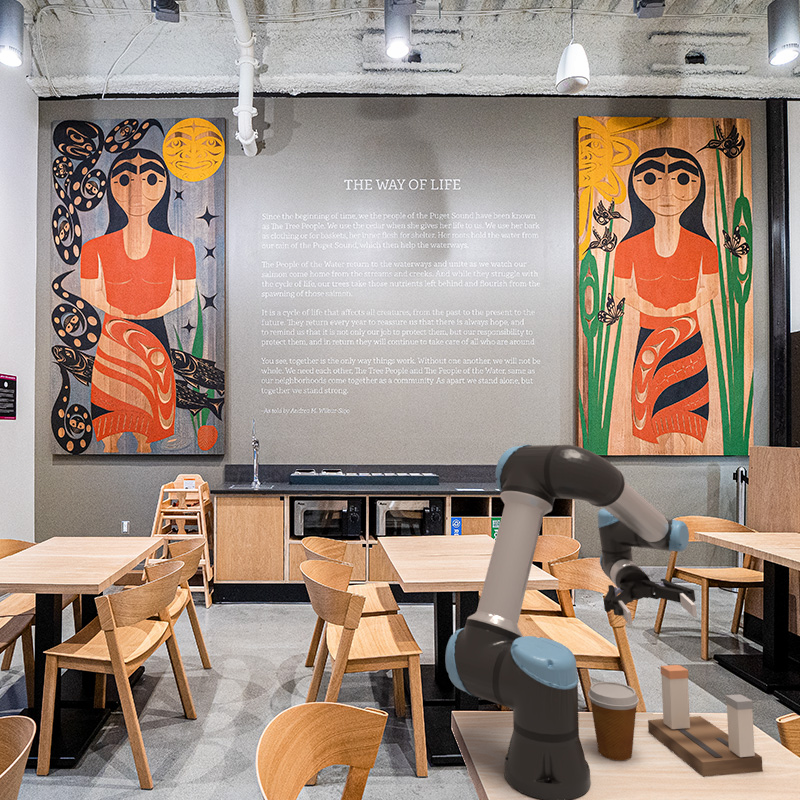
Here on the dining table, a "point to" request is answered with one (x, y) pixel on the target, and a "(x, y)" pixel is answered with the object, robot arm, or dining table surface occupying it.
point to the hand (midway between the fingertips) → (662, 614)
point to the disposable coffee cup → (614, 718)
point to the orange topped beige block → (675, 696)
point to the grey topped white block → (740, 725)
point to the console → (704, 748)
